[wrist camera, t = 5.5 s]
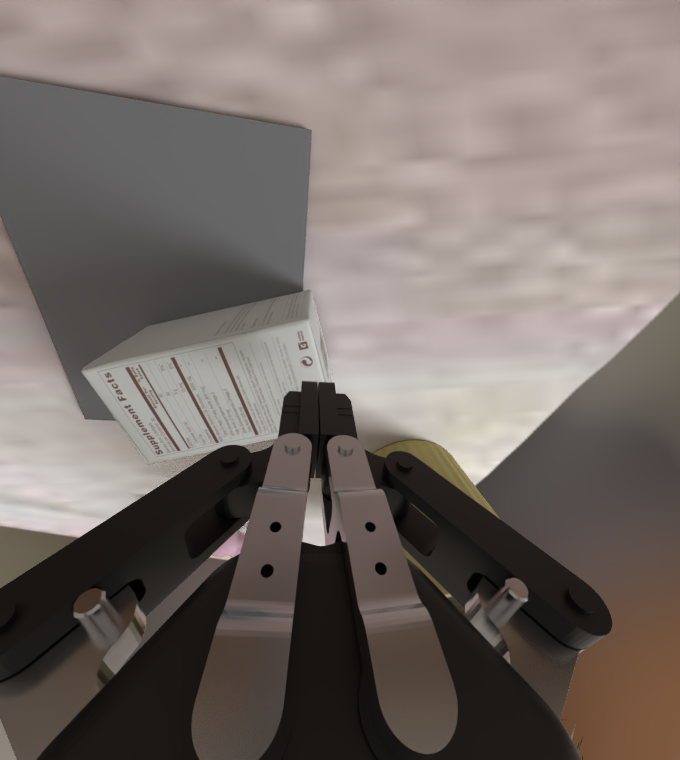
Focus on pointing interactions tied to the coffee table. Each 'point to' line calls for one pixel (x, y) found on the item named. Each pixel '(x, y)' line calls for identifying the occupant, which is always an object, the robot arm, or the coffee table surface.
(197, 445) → the supplement box
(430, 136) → the coffee table surface
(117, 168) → the mat
